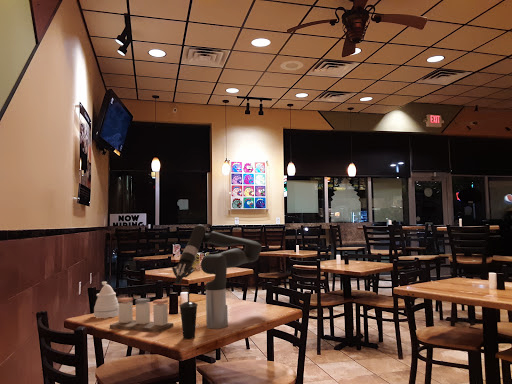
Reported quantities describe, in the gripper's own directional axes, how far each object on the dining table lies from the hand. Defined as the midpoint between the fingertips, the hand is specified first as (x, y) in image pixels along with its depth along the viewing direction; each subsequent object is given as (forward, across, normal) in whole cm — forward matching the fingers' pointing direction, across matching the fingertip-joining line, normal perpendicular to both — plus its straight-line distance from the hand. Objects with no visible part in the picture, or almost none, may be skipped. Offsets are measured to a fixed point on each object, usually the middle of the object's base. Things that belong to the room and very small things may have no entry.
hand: (176, 283), depth 206 cm
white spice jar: (+22, +20, -1) cm, 30 cm away
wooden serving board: (+24, +10, -1) cm, 26 cm away
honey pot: (+13, +44, -13) cm, 48 cm away
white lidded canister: (+22, 0, -1) cm, 22 cm away
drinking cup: (+31, -21, +5) cm, 38 cm away
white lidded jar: (+22, +10, -1) cm, 24 cm away
